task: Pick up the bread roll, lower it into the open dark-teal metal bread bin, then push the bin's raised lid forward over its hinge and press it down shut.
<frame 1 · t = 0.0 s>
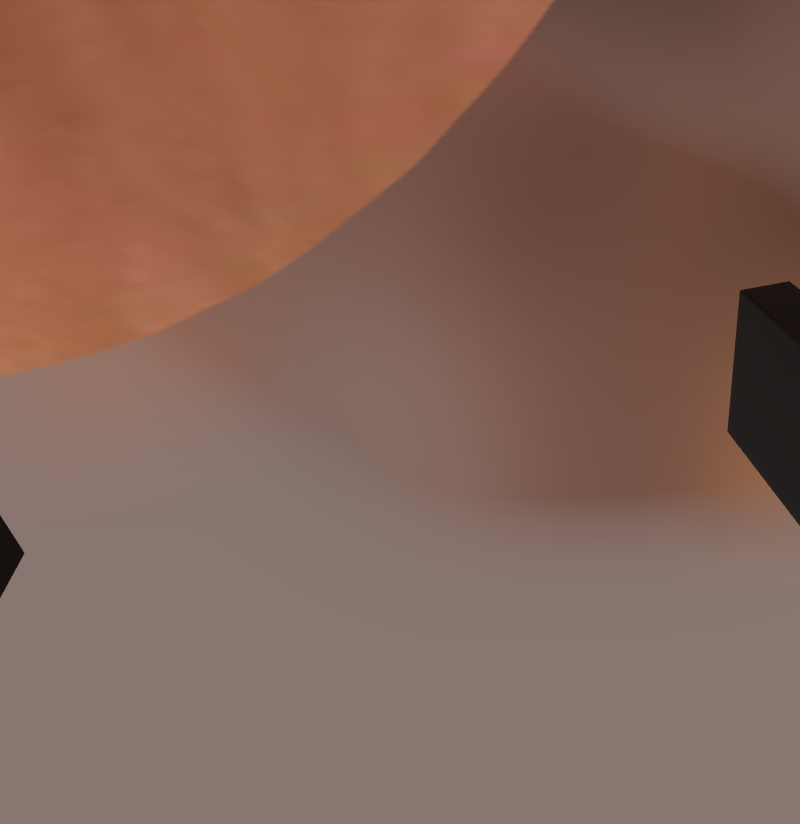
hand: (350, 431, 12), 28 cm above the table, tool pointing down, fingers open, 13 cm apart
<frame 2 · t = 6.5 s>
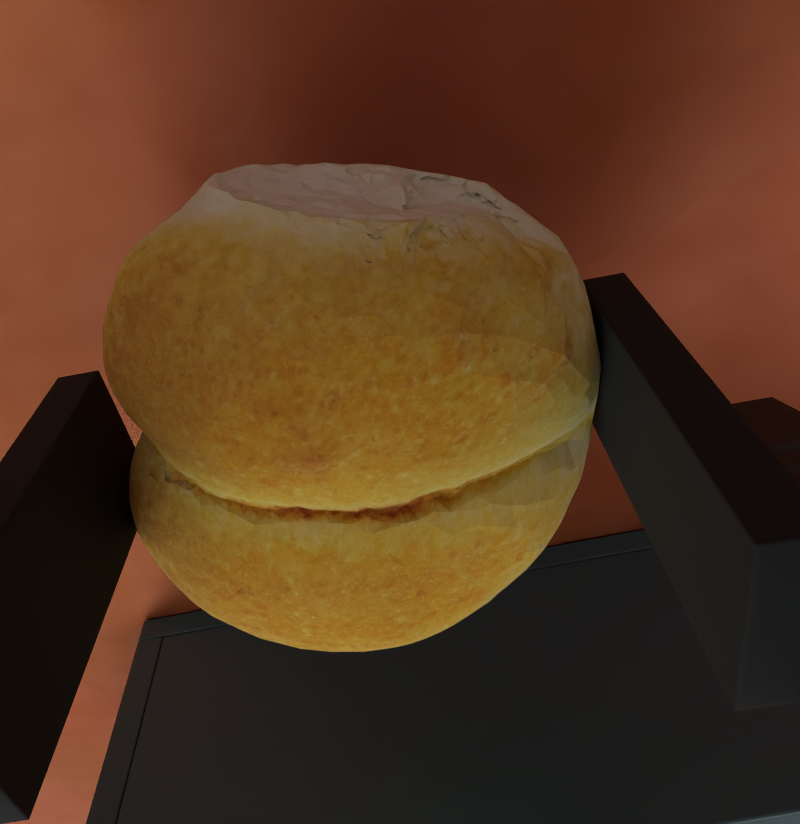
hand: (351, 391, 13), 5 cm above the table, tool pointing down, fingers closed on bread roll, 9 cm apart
bread roll: (350, 380, 14), point 4 cm above the table, touching gripper
bread bin: (463, 722, 27), on the table
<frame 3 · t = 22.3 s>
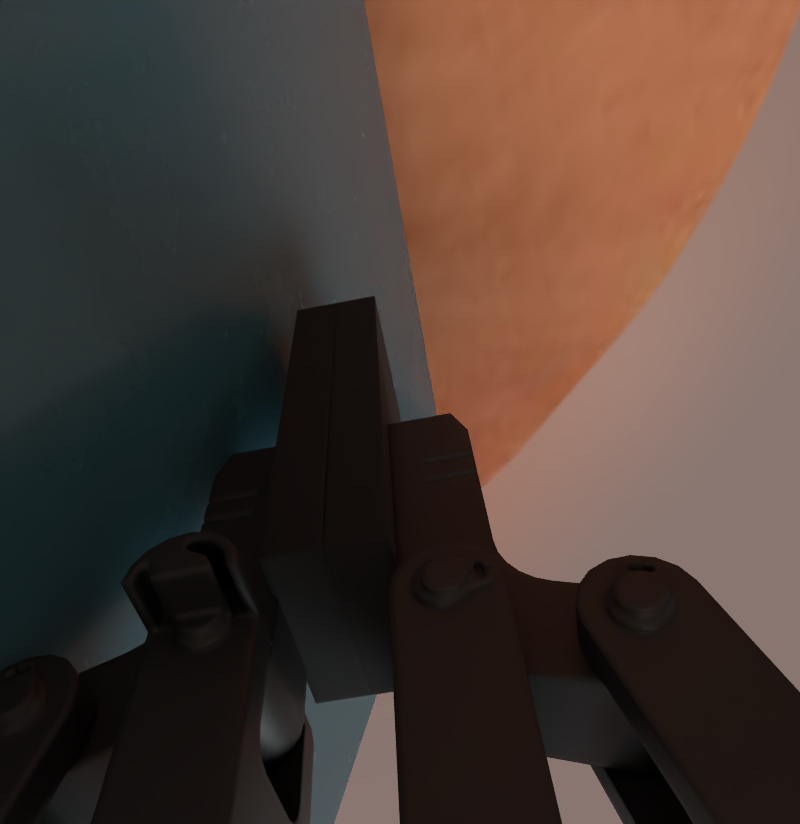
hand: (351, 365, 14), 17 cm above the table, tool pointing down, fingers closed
bin lid: (266, 399, 14), point 18 cm above the table, hinge at 71.5°, touching gripper, hand
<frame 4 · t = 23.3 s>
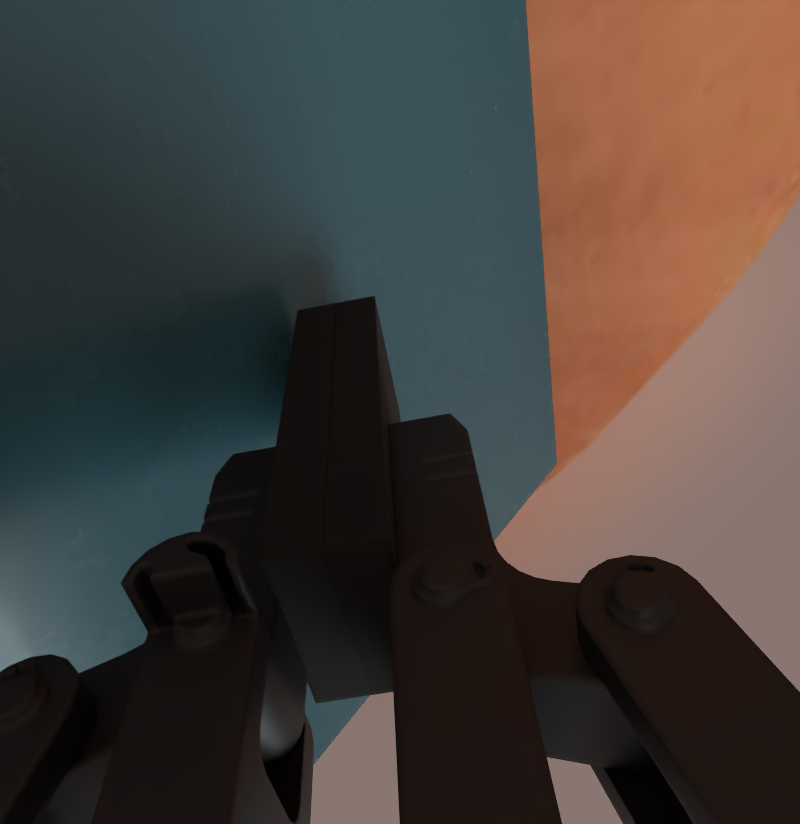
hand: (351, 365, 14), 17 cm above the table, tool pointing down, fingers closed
bin lid: (325, 350, 15), point 16 cm above the table, hinge at 50.1°, touching gripper
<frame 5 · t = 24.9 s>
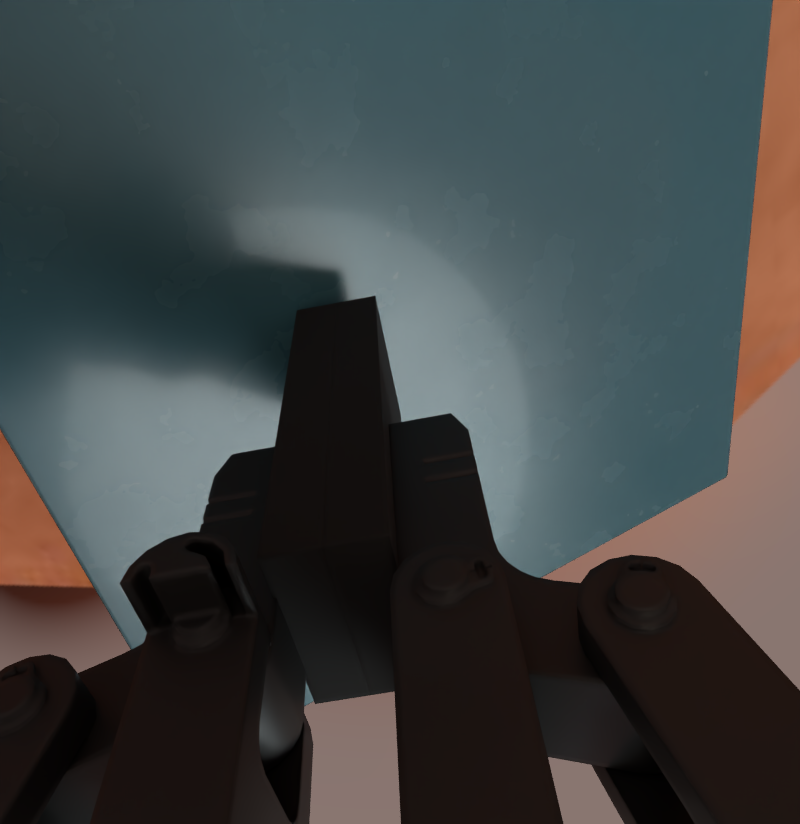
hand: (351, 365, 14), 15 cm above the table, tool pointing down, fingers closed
bin lid: (443, 302, 16), point 13 cm above the table, hinge at 23.7°, touching gripper
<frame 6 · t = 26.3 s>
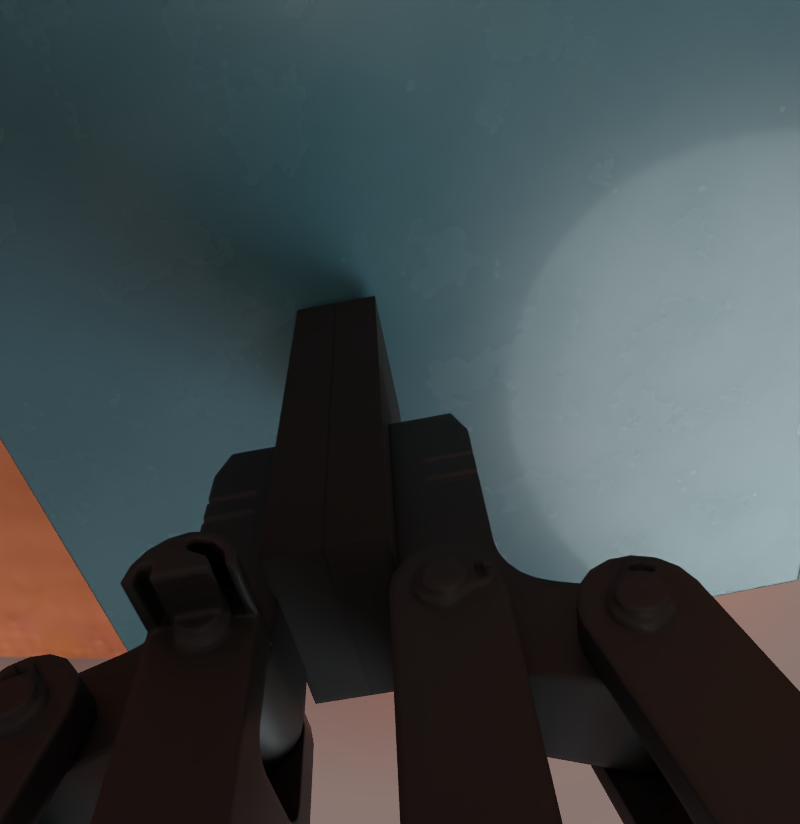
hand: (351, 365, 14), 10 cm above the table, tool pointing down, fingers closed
bin lid: (418, 334, 15), point 10 cm above the table, hinge at 2.2°, touching gripper
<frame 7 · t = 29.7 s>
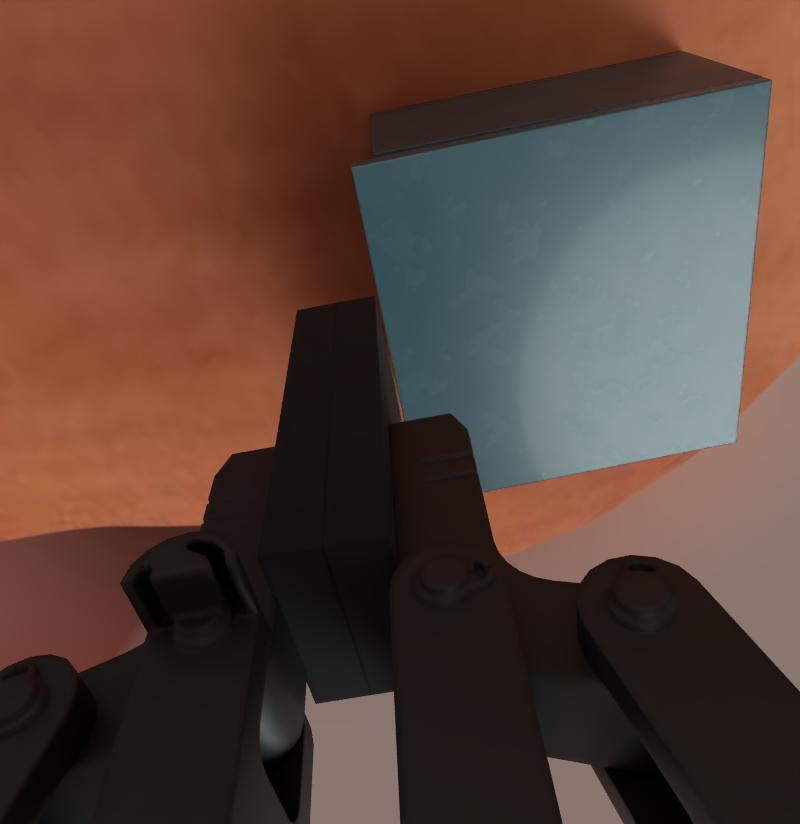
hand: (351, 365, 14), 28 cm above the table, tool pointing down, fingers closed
bread bin: (536, 249, 43), on the table
bin lid: (568, 320, 35), point 10 cm above the table, hinge at 2.2°
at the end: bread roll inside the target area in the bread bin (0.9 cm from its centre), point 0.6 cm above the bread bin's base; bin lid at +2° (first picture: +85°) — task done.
